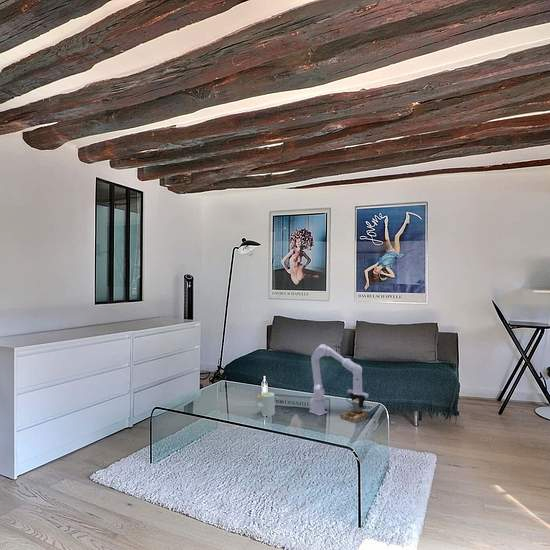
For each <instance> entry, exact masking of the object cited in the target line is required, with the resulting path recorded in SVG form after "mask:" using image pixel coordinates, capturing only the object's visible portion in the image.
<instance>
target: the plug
mask: <svg viewBox="0 0 550 550" xmlns="http://www.w3.org/2000/svg"><path fill="white" fill-rule="evenodd" d="M352 403H353V404H352V409H353V411H355V412H358V413H359V412H361V411H363V409H362V407H361V408H360V407H359V399H357V398H356V399H354V400H353V402H352Z"/></svg>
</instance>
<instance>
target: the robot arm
mask: <svg viewBox="0 0 550 550" xmlns="http://www.w3.org/2000/svg"><path fill="white" fill-rule="evenodd" d="M324 356H325V357H332V358H334V359H335V360H336V361H338V362H339V363H341V366H342V367H344V368H345V369H346V370H348V371H350V372H351V373H352V375H353V376H352V389H351V388H348V389H346V392H347V393H348V394H349V395H350V396H349V397H350V400H351V401H352V402H351V403H353V400H354V399H356V398H357V395H359V397H358V399H359V407H360V408H361V407H362V406H363V407H364V404H363V402H365V401H366V400H365V399H367V398H369V393H367V392H364V391H363V375H362V374H363V367H362V366H361V365H360V364H358V363H355V362H354V361H352V359H351V358H348V357H346V358H345V357H343V356H342V355H341V354H339V353H338V352H337V351H336V350H334V349H332V348H331V347H330V346H328V345H327V344H325V343H321V344H319V345H318V346H317V347H316V349H314V351H313V353H312V355H311V357H310V360H311V362H310V363H311V367H312V371H311V372H312V379H313V393H312V397H311V399H310V400H309V411H308V412H309V413H311V414H314V415H316V416H322V415H326V414H327V413H328V411H326V408H325V403H326V402H325V400H326V398H325V394H326V392H325V391H326V390H325V388H324V385H323V382H322V375H321V364H320V359H321V358H323V357H324Z"/></svg>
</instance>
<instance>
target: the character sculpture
mask: <svg viewBox="0 0 550 550" xmlns="http://www.w3.org/2000/svg"><path fill="white" fill-rule="evenodd" d="M256 399H257V400H260V401H259V402H257V407H258V408H259V409H260V411H261V412H260V413H261V414H263V415H274V414H275V415H276V404H275V403H276V402H275V401H276V400H277V396H276V394H275V393H274V392H269V391H265V392H262V393H261V394H258V395H257V398H256Z"/></svg>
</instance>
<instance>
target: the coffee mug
mask: <svg viewBox="0 0 550 550" xmlns="http://www.w3.org/2000/svg"><path fill="white" fill-rule="evenodd" d="M349 397H350V394H349V395H347V396H346V401H347V402H348V403H350V404H352V405H353V402H351V401H349V399H348V398H349ZM358 397H359V395H357V399H358ZM364 402H365V401H364ZM364 402H363V406H362V410H363V409H364Z"/></svg>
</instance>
